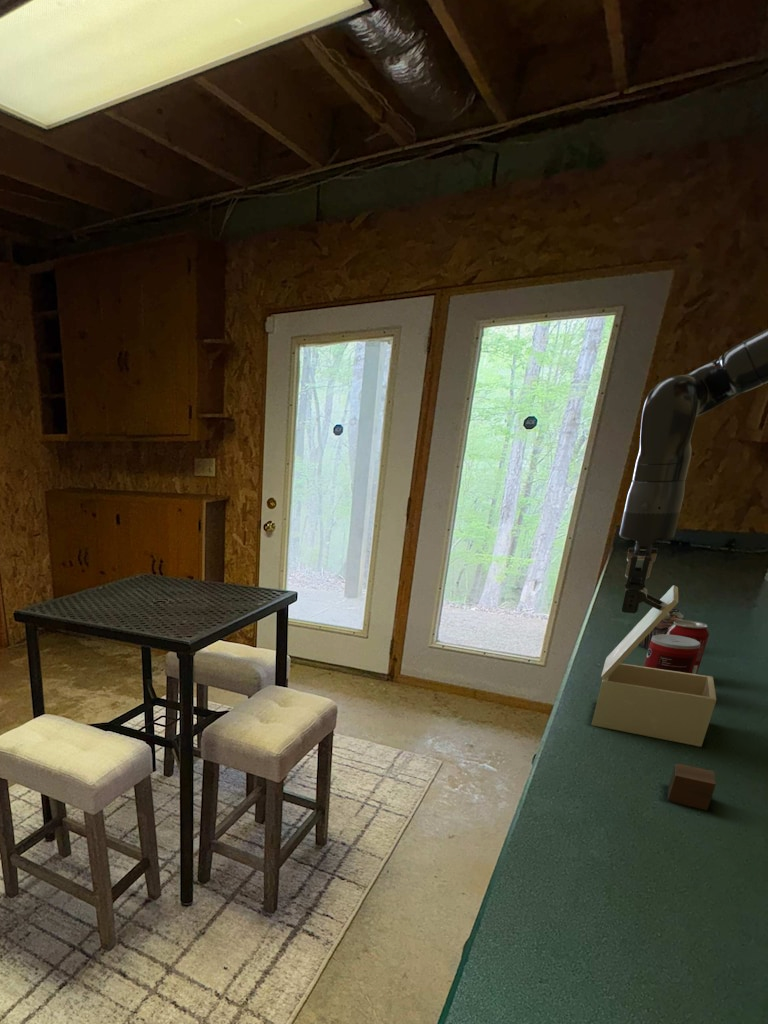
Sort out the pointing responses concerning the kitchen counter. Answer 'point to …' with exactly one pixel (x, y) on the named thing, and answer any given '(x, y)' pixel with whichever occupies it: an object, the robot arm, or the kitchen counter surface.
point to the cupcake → (662, 626)
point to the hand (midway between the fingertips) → (629, 608)
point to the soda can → (691, 636)
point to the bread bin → (656, 703)
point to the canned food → (672, 653)
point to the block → (691, 786)
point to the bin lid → (641, 627)
